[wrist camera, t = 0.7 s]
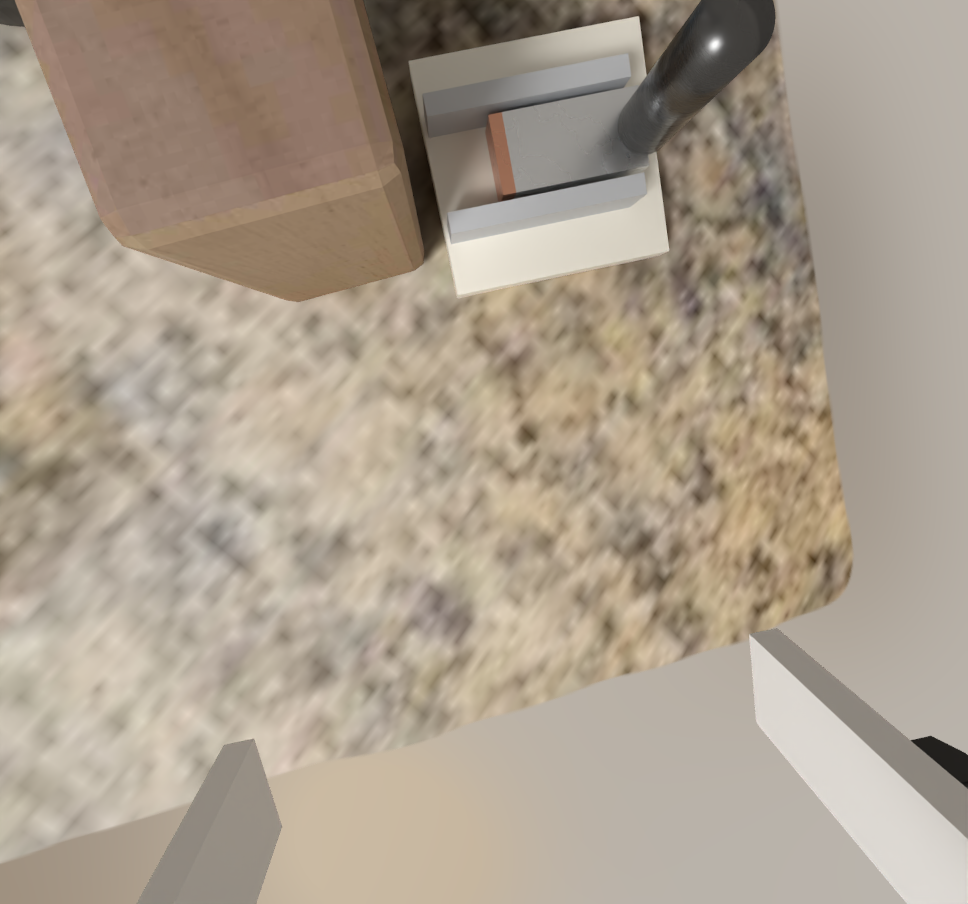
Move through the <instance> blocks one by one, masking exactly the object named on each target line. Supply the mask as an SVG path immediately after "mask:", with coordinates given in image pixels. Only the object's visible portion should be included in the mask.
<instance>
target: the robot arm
mask: <svg viewBox="0 0 968 904" xmlns="http://www.w3.org/2000/svg"><path fill="white" fill-rule="evenodd" d="M0 24H5V25H11V26H23V27H25V25H24V23H23V20H22V18H21V15H20V12H19V10H18V7H17V5H16V2H15V0H0ZM749 638H750V650H751V662H752V675H753V688H754V699H755V712H756V723H757V724H758V726H759V727H760V728H761V729H762V730H763V732H764V733H765V734H766V735H767V736H768V738H770V740H771V741H772V742H773V744H774V745H775V746H776V747H777V748H778V749H779V751H780V752H781V753H782V754H783V755H784V757H785V758H786V759H787V760H788V762H789V763H790V764H791V765H792V766H793V768H794V769H795V770H796V771H797V772H798V774H799V775H800V776H801V777H802V778H803V780H804V781H805V782H806V783H807V784H808V785H809V787H810V788H811V789H812V790H813V792H814V793H815V794H816V795H817V796H818V798H819V799H820V800H821V801H822V802H823V804H824V805H825V806H826V807H827V808H828V810H829V811H830V812H831V813H832V814H833V815H834V817H835V818H836V819H837V820H838V821H839V822H840V824H841V825H842V826H843V828H844V829H845V830H846V831H847V832H848V833H849V835H850V836H851V837H852V838H853V840H854V841H855V842H856V843H857V844H858V846H859V847H860V848H861V849H862V850H863V851H864V853H865V854H866V855H867V856H868V858H869V859H870V860H871V861H872V862H873V864H874V865H875V866H876V867H877V868H878V870H880V872H881V873H882V874H883V876H884V877H885V878H886V879H887V880H888V882H889V883H890V884H891V885H892V886H893V888H895V890H896V891H897V892H898V893H899V895H900V896H901V897H902V898H903V900H904V901H905V902H906V903H907V904H968V755H967V754H966V753H964V752H962V751H960V750H958V749H956V748H954V747H952V746H950V745H948V744H946V743H944V742H942V741H940V740H938V739H936V738H934V737H932V736H928V737H924V738H919V739H915V740H909V739H908V738H907V737H906V736H904V735H903V734H902V733H901V732H900V731H898V730H897V729H896V728H895V727H894V726H892V725H891V724H890V723H889V722H888V721H887V720H885V719H884V718H883V717H882V716H881V715H879V714H878V713H877V712H876V711H875V710H873V709H872V708H871V707H870V706H869V705H867V704H866V703H865V702H864V701H863V700H861V699H860V698H859V697H858V696H857V695H856V694H854V693H853V692H852V691H851V690H850V689H849V688H847V687H846V686H845V685H844V684H842V683H841V682H840V681H839V680H838V679H836V678H835V677H834V676H833V675H832V674H831V673H830V672H828V671H827V670H826V669H825V668H824V667H822V666H821V665H820V664H819V663H818V662H817V661H815V660H814V659H813V658H812V657H811V656H809V655H808V654H807V653H806V652H805V651H803V650H802V649H801V648H800V647H799V646H798V645H796V644H795V643H794V642H793V641H792V640H790V639H789V638H788V637H787V636H786V635H784V634H783V633H782V632H781V631H780V630H778V629H777V628H776V629H771V630H766V631H761V632H756V633H752V634H749ZM281 828H282V825H281V822H280V819H279V816H278V812H277V809H276V806H275V803H274V800H273V797H272V794H271V790H270V787H269V785H268V781H267V778H266V775H265V772H264V768H263V765H262V762H261V759H260V756H259V753H258V750H257V746H256V743H255V740H254V739H250V740H245V741H241V742H236V743H231V744H226V745H224V746H223V748H222V749H221V751H220V753H219V755H218V757H217V759H216V760H215V762H214V764H213V766H212V768H211V769H210V771H209V773H208V775H207V777H206V779H205V780H204V782H203V784H202V786H201V788H200V789H199V791H198V793H197V795H196V797H195V798H194V800H193V802H192V804H191V806H190V808H189V809H188V811H187V813H186V815H185V817H184V819H183V820H182V822H181V824H180V826H179V828H178V829H177V831H176V833H175V835H174V837H173V838H172V840H171V842H170V844H169V846H168V847H167V849H166V851H165V853H164V855H163V857H162V858H161V860H160V862H159V864H158V866H157V867H156V869H155V871H154V873H153V875H152V877H151V878H150V880H149V882H148V884H147V886H146V887H145V889H144V891H143V893H142V895H141V897H140V898H139V900H138V902H137V904H256V902H257V899H258V896H259V893H260V890H261V887H262V884H263V882H264V879H265V875H266V872H267V869H268V867H269V864H270V860H271V858H272V855H273V851H274V849H275V846H276V843H277V840H278V837H279V834H280V831H281Z"/></svg>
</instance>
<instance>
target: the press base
mask: <svg viewBox="0 0 968 904" xmlns="http://www.w3.org/2000/svg"><path fill="white" fill-rule="evenodd" d="M409 69H410V77H411V82H412V87H413V92H414V96H415V101H416V106H417V111H418V115H419V120H420V125H421V129H422V134H423V139H424V144H425V148H426V153H427V158H428V163H429V167H430V172H431V177H432V182H433V186H434V191H435V196H436V201H437V205H438V210H439V215H440V219H441V224H442V229H443V234H444V238H445V243H446V248H447V253H448V257H449V262H450V267H451V272H452V276H453V281H454V286H455V290H456V295H457V298H461V297H466V296H471V295H476V294H480V293H485V292H490V291H495V290H499V289H504V288H509V287H514V286H518V285H523V284H528V283H533V282H537V281H542V280H547V279H552V278H557V277H561V276H566V275H571V274H576V273H580V272H585V271H590V270H595V269H599V268H604V267H609V266H614V265H618V264H623V263H628V262H633V261H637V260H642V259H647V258H652V257H656V256H659V255H661V254H664V253H666V252H668V251H669V245H668V237H667V229H666V222H665V214H664V206H663V198H662V191H661V183H660V175H659V168H658V160H657V152H654V153H652V154H649V155H648V158H649V166H648V167H647V168H646V169H645V170H644V171H643V172H642V173H639V174H634V175H629V176H624V177H620V178H615V179H610V180H605V181H600V182H595V183H590V184H585V185H580V186H576V187H571V188H566V189H561V190H556V191H551V192H546V193H541V194H536V195H532V196H527V197H522V198H517V199H512V200H507V201H502V202H498V198H497V192H496V187H495V182H494V176H493V171H492V166H491V161H490V155H489V150H488V145H487V139H486V134H485V130H486V124H487V119H488V115H490V114H495V113H500V112H505V111H510V110H515V109H520V108H525V107H530V106H535V105H540V104H545V103H550V102H555V101H560V100H565V99H570V98H575V97H580V96H585V95H590V94H595V93H600V92H606V91H611V90H616V89H621V88H626V87H631V86H636V85H639V86H640V84H641V83H642V81H643V80H644V79H645V77H646V76H647V75H646V67H645V59H644V52H643V44H642V36H641V28H640V21H639V16H637V17H631V18H626V19H621V20H616V21H611V22H606V23H601V24H596V25H590V26H585V27H580V28H575V29H570V30H565V31H560V32H554V33H549V34H544V35H539V36H534V37H529V38H524V39H519V40H513V41H508V42H503V43H498V44H493V45H488V46H483V47H477V48H472V49H467V50H462V51H457V52H452V53H447V54H441V55H436V56H431V57H426V58H421V59H416V60H411V61H409Z"/></svg>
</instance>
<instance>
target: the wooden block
mask: <svg viewBox="0 0 968 904" xmlns="http://www.w3.org/2000/svg"><path fill="white" fill-rule="evenodd" d="M15 2H16V5H17V7H18V10H19V12H20V15H21V18H22V20H23V23H24V25H25V28H26V30H27V33H28V35H29V38H30V40H31V43H32V46H33V48H34V51H35V53H36V56H37V58H38V61H39V63H40V66H41V68H42V71H43V74H44V76H45V79H46V81H47V84H48V86H49V89H50V91H51V94H52V97H53V99H54V102H55V104H56V107H57V109H58V112H59V114H60V117H61V119H62V122H63V125H64V127H65V130H66V132H67V135H68V137H69V140H70V142H71V145H72V147H73V150H74V153H75V155H76V158H77V160H78V163H79V165H80V168H81V170H82V173H83V176H84V178H85V181H86V183H87V186H88V188H89V191H90V193H91V196H92V198H93V201H94V204H95V206H96V209H97V211H98V214H99V216H100V219H101V220H102V222H103V223H104V224H105V226H106V227H107V228H108V229H109V231H110V232H111V233H112V235H113V236H114V237H115V238H116V239H117V240H118V241H119V242H120V243H121V244H122V245H123V246H124V247H127V248H131V249H134V250H137V251H140V252H143V253H146V254H149V255H152V256H155V257H158V258H161V259H164V260H167V261H170V262H173V263H176V264H179V265H182V266H185V267H188V268H191V269H194V270H197V271H200V272H203V273H206V274H209V275H212V276H215V277H218V278H221V279H224V280H227V281H230V282H233V283H236V284H239V285H242V286H245V287H248V288H251V289H254V290H257V291H260V292H263V293H266V294H269V295H272V296H275V297H278V298H281V299H284V300H288V301H296V302H300V301H304V300H308V299H311V298H315V297H319V296H322V295H326V294H330V293H333V292H337V291H341V290H345V289H348V288H352V287H356V286H359V285H363V284H367V283H370V282H374V281H378V280H382V279H385V278H389V277H393V276H396V275H400V274H404V273H408V272H411V271H414V270H416V269H417V268H418V267H419V266H421V265H422V264H423V261H424V247H423V242H422V237H421V232H420V227H419V222H418V217H417V213H416V208H415V203H414V198H413V193H412V188H411V183H410V178H409V173H408V168H407V163H406V159H405V154H404V149H403V145H402V141H401V137H400V134H399V130H398V126H397V123H396V119H395V115H394V112H393V108H392V104H391V101H390V97H389V93H388V90H387V86H386V82H385V79H384V75H383V71H382V68H381V64H380V60H379V57H378V53H377V49H376V46H375V42H374V38H373V35H372V31H371V27H370V24H369V20H368V16H367V13H366V9H365V5H364V2H363V0H15Z"/></svg>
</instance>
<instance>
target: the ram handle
mask: <svg viewBox="0 0 968 904" xmlns="http://www.w3.org/2000/svg"><path fill="white" fill-rule="evenodd" d="M774 25H775V9H774V4H773V0H701V2H700V3H699V4H698V6H697V7H696V9H695V10H694V11H693V13H692V14H691V15H690V17H689V18H688V20H687V21H686V22H685V24H684V25H683V26H682V28H681V29H680V31H679V32H678V33H677V35H676V36H675V37H674V39H673V40H672V42H671V43H670V44H669V46H668V47H667V48H666V50H665V51H664V53H663V54H662V55H661V57H660V58H659V59H658V61H657V62H656V64H655V65H654V66H653V68H652V69H651V70H650V72H649V73H648V75H647V76H646V77H645V79H644V80H643V81H642V83H641V84H640V86H639V85H636V86H631V87H626V88H621V89H616V90H611V91H606V92H600V93H595V94H590V95H585V96H580V97H575V98H570V99H565V100H560V101H555V102H550V103H545V104H540V105H535V106H530V107H525V108H520V109H515V110H510V111H505V112H500V113H495V114H490V115H488V119H487V124H486V130H485V134H486V139H487V145H488V150H489V155H490V161H491V166H492V171H493V176H494V182H495V187H496V192H497V198H498V202H502V201H507V200H512V199H517V198H522V197H527V196H532V195H536V194H541V193H546V192H551V191H556V190H561V189H566V188H571V187H576V186H580V185H585V184H590V183H595V182H600V181H605V180H610V179H615V178H620V177H624V176H629V175H634V174H639V173H642V172H643V171H644V170H645V169H646V168H647V167H648V166H649V158H648V155H649V154H652V153H654V152H656V151H658V150H659V149H660V148H661V147H662V146H663V145H664V144H665V143H666V142H667V141H669V140H670V139H671V138H672V137H673V136H674V135H675V134H676V133H677V132H678V131H679V130H680V129H681V128H682V127H683V126H684V125H685V124H686V123H687V122H689V121H690V120H691V119H692V118H693V117H694V116H695V115H696V114H697V113H698V112H699V111H700V110H701V109H702V108H703V107H704V106H705V105H706V104H707V103H709V102H710V101H711V100H712V99H713V98H714V97H715V96H716V95H717V94H718V93H719V92H720V91H721V90H722V89H723V88H724V87H725V86H726V85H727V84H729V83H730V82H731V81H732V80H733V79H734V78H735V77H736V76H737V75H738V74H739V73H740V72H741V71H742V70H743V69H744V68H745V67H746V66H747V65H749V64H750V63H751V62H752V61H753V60H754V59H755V58H756V57H757V56H758V55H759V54H760V53H761V52H762V51H763V50H764V48H765V47H766V46H767V44H768V42H769V41H770V38H771V36H772V33H773V30H774Z"/></svg>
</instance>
